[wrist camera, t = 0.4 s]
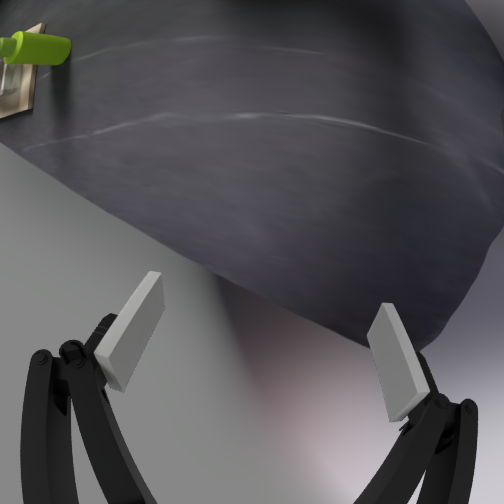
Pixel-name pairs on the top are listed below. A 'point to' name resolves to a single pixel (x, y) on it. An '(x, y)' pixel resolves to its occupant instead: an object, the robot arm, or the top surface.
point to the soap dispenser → (34, 49)
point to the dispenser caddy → (17, 83)
